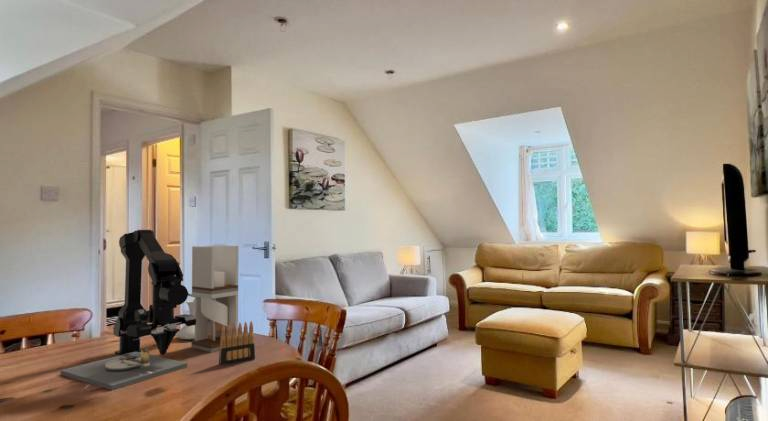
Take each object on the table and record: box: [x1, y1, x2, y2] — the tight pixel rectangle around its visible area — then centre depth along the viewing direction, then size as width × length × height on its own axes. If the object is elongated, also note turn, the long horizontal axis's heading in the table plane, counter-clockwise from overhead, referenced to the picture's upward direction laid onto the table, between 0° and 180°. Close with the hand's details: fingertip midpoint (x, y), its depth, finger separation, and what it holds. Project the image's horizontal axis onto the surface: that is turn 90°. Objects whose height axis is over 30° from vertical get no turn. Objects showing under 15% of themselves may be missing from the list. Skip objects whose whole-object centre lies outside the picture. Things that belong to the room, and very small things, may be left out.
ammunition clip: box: [218, 320, 256, 366], centre depth 141 cm, size 11×2×12 cm, turn 127°
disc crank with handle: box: [105, 348, 150, 371], centre depth 132 cm, size 15×10×6 cm, turn 61°
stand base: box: [60, 352, 188, 391], centre depth 133 cm, size 26×22×1 cm
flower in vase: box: [175, 292, 195, 340], centre depth 172 cm, size 13×11×25 cm
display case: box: [191, 244, 239, 353], centre depth 160 cm, size 11×11×35 cm
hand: (162, 354), depth 133 cm, fingers closed
